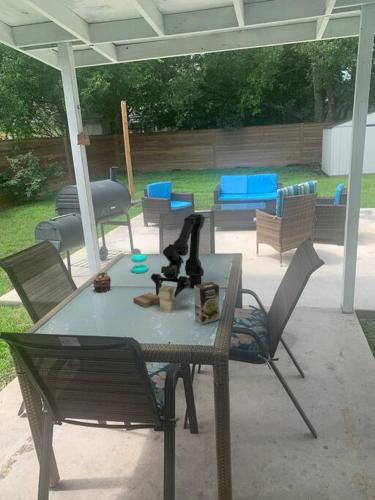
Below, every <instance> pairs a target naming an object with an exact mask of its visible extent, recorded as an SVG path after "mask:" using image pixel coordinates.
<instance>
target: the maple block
mask: <svg viewBox="0 0 375 500" xmlns="http://www.w3.org/2000/svg"><path fill="white" fill-rule="evenodd" d="M174 294H175V289H174V286H173V285H162V287H161V288H159V294H158V296H159V298H160V303H159V307H160V308H159V309H160V310H159V311H160V312H166V313H171V312H173V310H174V309H175V298H174Z"/></svg>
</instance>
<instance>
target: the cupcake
mask: <svg viewBox="0 0 375 500" xmlns="http://www.w3.org/2000/svg"><path fill="white" fill-rule="evenodd" d="M111 283H112V280H111V276H110V275H108V273H107V272H105V271H103V272H101V273H100V272H98V274H96V276H95V277H94V279H93V282H92V285H93V288H94V292H95V293H98V294H104V293H107V291H108V292H110V290H111ZM103 292H104V293H103Z"/></svg>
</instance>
